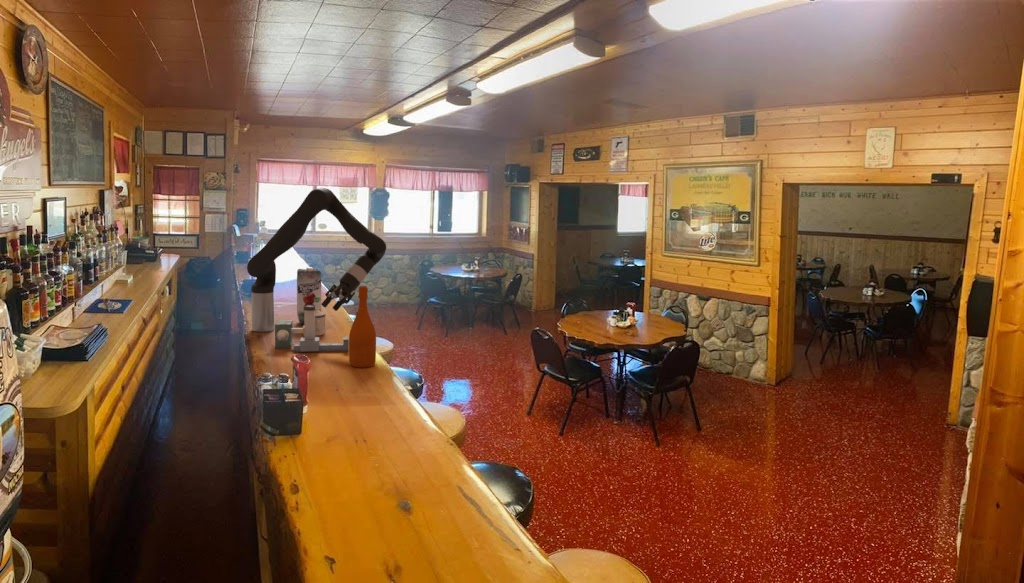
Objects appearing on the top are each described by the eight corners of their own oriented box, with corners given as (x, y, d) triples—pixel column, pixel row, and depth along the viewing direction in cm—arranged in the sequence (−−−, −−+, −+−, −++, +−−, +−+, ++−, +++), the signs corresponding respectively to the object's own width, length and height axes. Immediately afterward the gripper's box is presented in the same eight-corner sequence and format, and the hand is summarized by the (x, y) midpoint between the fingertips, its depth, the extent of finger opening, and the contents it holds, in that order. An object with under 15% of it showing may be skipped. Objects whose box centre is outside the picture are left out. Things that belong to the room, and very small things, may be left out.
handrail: (294, 349, 259) (294, 337, 258) (348, 348, 264) (348, 336, 263) (293, 352, 254) (293, 340, 253) (348, 351, 259) (348, 339, 258)
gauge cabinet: (277, 343, 266) (276, 320, 264) (292, 343, 267) (292, 320, 266) (275, 349, 258) (274, 324, 256) (290, 348, 259) (290, 324, 258)
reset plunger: (284, 333, 264) (284, 325, 263) (307, 333, 266) (307, 325, 265) (283, 335, 261) (283, 327, 260) (306, 335, 263) (306, 327, 262)
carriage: (301, 347, 260) (300, 305, 257) (319, 347, 262) (319, 305, 259) (300, 351, 254) (299, 308, 251) (318, 351, 256) (318, 308, 253)
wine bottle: (379, 362, 246) (380, 284, 241) (371, 369, 237) (371, 288, 232) (354, 360, 247) (354, 283, 242) (345, 367, 237) (345, 287, 233)
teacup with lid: (302, 332, 288) (302, 306, 286) (323, 330, 292) (322, 305, 290) (308, 338, 278) (308, 311, 276) (329, 336, 282) (329, 310, 280)
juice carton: (296, 321, 308) (296, 265, 303) (319, 320, 312) (319, 265, 308) (298, 325, 300) (298, 268, 295) (322, 324, 304) (322, 267, 300)
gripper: (338, 269, 270) (313, 299, 264) (357, 274, 261) (332, 304, 254) (349, 281, 275) (325, 310, 268) (368, 286, 265) (344, 316, 259)
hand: (328, 307), depth 261 cm, fingers open, 8 cm apart
